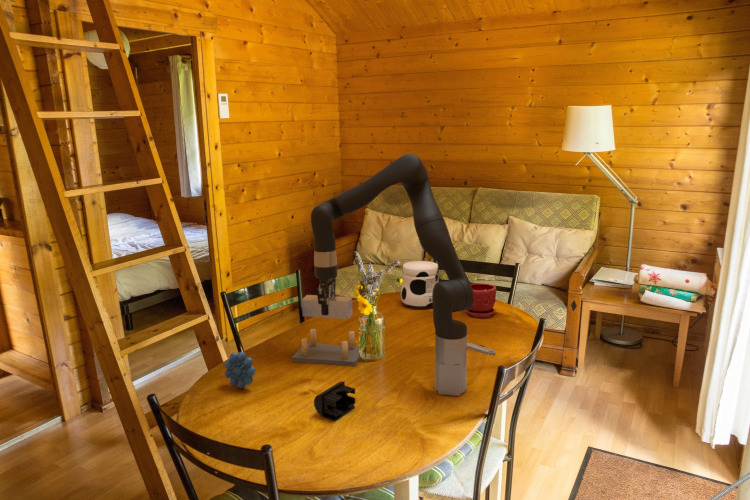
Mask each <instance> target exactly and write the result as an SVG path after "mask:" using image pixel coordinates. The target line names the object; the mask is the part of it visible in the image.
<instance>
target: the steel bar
mask: <svg viewBox="0 0 750 500" xmlns="http://www.w3.org/2000/svg"><path fill="white" fill-rule="evenodd" d="M323 301H324V299H323ZM301 304H302V306H301V308H302V310H301V311H302V317H307V318H309V317H312V318H325V319H343V320H350V318H351V316H352V315H353V297H352V296H338V295H335V296H330V298H328V315H322V312H321V304H318V297H317V294H306V295H305V296H304V297H303V298H302V299H301Z"/></svg>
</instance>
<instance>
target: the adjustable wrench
mask: <svg viewBox="0 0 750 500" xmlns="http://www.w3.org/2000/svg"><path fill="white" fill-rule="evenodd" d="M468 348H469V349H468ZM467 349H468V350H471V349H472V350H471V351H474V350H475V352H478V351H479V352H478V353H481V352H482V353H481V354H484V353H485V355H487V354H489V355H488V356H490V355H493V356H495V355H496V350H494V349H491V348H488V347H484V346H480V345H477V344H474V343H470V342H468V341H467Z"/></svg>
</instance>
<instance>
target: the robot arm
mask: <svg viewBox="0 0 750 500" xmlns="http://www.w3.org/2000/svg"><path fill="white" fill-rule="evenodd" d="M397 184H401V185H402V186H403V188H404V190H405V192H406V194H407V196H408V199H409V201H410V204H411V206H412V207H411V209H412V216H413V218H412V219H413V225H414V229H415V232H416V235H417V239H418V241H419V244H420V247H421V248H422V249H423V251H425V252H426V253H427V255H429V257H430V258H432V259H433V260H434V261H435V262H436V263H438V265H439V266H441V267H440V268H442V269H443V271H444V273H445V275H446V276H447V279H448V280H444V281H438V283H436V284H435V286H434V288H433V293H432V302H433V306H432V317H433V318H432V319H433V325H434V341H435V342H434V389H435V391H436V392H438V395H443V396H453V397H455V396H456V397H460V396H461V395H462V394H464V393H465V392H467V363H468V362H467V359H468V358H467V355H468V350H467V349H468V348H467V342H468V327H467V324H466V323H465V322H463V321H461V320H458V319H457V320H456V319H453V313H457V312H458V313H459V312H463V311H466V310H468V309H470V308H471V307H472V306H473V304H474V293H473V289H472V286H471V284H472V283H471V282H470V280H469V276H467V273H466V271H465V269H464V266H463V265H462V263H461V261H460V259H459V256H458V254H457V251H456V249H455V247H454V244H453V241H452V238H451V234H450V232H449V229H448V225H447V224H446V220H445V219H444V216H443V213H442V211H441V209H440V207H439V205H438V204H437V201H436V199H435V197H434V194H433V191H432V187H431V183H430V178H429V174H428V170H427V168H426V166H425V164H424V163H423V161H422V159H421V158H420V156H418V155H416V154H414V153H406V154H403V155H401V156H399V157H398V158H397V159H395V160H394V161H392V162H391V163H390V164H388V165H386V166H385V167H384V168H382V169H381V170H380V171H378V172H377V173H375V174H374V175H372V176H371V177H369V178H368V179H366V180H364V181H363V182H361V183H359V184H357V185H355V186H353V187H351V188H349V189H346V191H343V192H341V193H340V194H338V195H337V196H336V197H335V196H334V197H333V198H330V199H328V200H326V201H325V200H324V201H323V202H321V203H319V204H318V205H316V206H314V207H313V209H312V210H311V213H310V224H311V230H312V234H313V245H314V246H313V247H314V249H313V251H314V254H313V265H314V269H313V270H314V277H315V278H316V279H317V280H319V285H318V287H317V288H316V295H317V297H318V304H321V312H322V315H328V298H330V296H336V287H337V285H336V283H337V280H336V279H337V277H338V258H337V250H336V248H337V247H336V246H337V245H336V235H335V234H334V231H333V229H334V228H333V222H334V221H335V220H338V219H339V218H342V217H343V216H345V215H349V214H352V213H354V212H357V211H358V210H360V209H362V208H364V207H366V206H367V205H369V204H370V203H371V202H373V200H375V199H376V198H377V197H378V196H379V195H380V194H381V193H382V192H383V191H385V190H387V189H388V188H390V187H392V186H394V185H397ZM323 299H324V301H323Z"/></svg>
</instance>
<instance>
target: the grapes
mask: <svg viewBox="0 0 750 500" xmlns="http://www.w3.org/2000/svg"><path fill="white" fill-rule="evenodd" d="M253 363H254V360H253V358H252V357H249V356H247V354H246V353H245V351H239V352H238V353H237V352H232V353H230V355H229V357H228V359H226V360H225V362H224V367H225V371H224V376H225V378H227V379H229V384H230V385H231V387H235V386H237V388H238V389H245V387H246V386H250V385H251V384H252V383H253V380H254V378H253V376H255V374H256V368H255V367H254V366H252V365H253Z"/></svg>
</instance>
